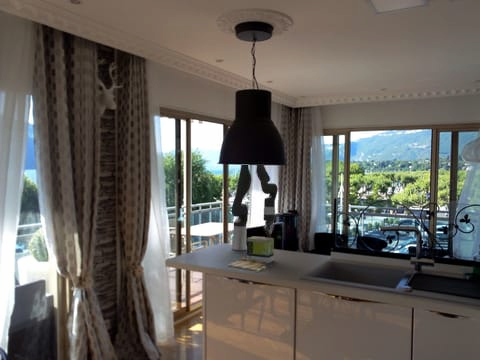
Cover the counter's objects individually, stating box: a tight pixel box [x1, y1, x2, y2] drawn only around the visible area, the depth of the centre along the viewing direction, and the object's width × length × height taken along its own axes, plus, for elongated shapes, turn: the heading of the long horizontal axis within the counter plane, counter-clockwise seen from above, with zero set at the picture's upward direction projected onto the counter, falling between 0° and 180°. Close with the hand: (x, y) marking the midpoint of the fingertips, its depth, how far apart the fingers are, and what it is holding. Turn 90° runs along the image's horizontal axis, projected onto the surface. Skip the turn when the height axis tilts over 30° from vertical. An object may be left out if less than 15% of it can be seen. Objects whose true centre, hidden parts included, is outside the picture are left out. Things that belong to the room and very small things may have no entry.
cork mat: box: [227, 258, 268, 272], centre depth 243 cm, size 18×16×2 cm
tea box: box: [246, 235, 275, 264], centre depth 257 cm, size 15×10×15 cm, turn 63°
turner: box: [254, 264, 273, 273], centre depth 236 cm, size 16×4×1 cm, turn 149°
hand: (268, 239), depth 266 cm, fingers closed
